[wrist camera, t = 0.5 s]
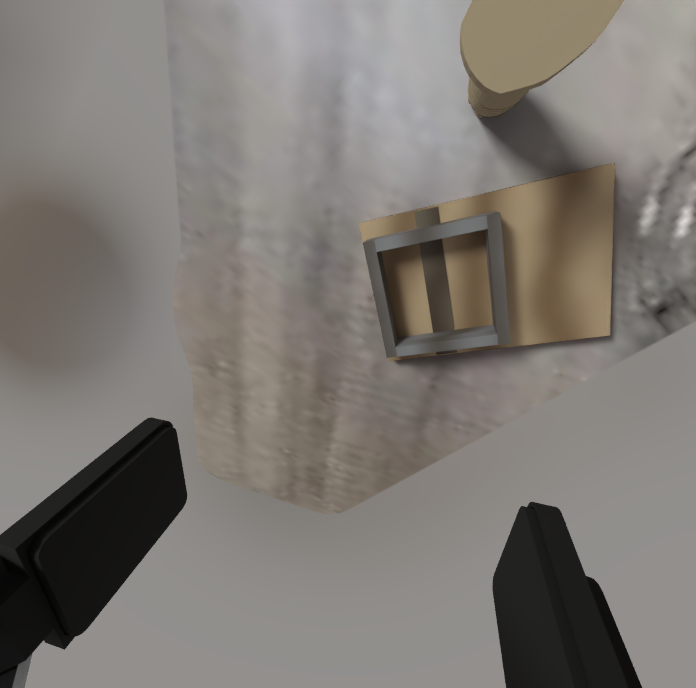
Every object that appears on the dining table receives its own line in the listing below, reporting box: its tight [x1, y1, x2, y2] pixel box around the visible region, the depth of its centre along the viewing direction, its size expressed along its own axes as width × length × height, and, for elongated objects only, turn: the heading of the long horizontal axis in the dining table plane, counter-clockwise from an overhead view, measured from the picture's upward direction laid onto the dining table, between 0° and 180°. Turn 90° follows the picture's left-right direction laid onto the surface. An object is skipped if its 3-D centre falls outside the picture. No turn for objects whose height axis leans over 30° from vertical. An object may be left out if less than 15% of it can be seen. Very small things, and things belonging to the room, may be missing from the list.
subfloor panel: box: [359, 163, 615, 361], centre depth 31 cm, size 20×14×4 cm
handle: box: [460, 0, 624, 118], centre depth 21 cm, size 5×6×15 cm
